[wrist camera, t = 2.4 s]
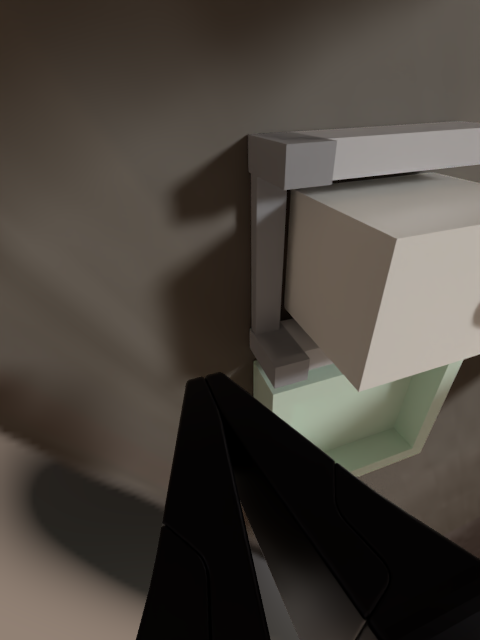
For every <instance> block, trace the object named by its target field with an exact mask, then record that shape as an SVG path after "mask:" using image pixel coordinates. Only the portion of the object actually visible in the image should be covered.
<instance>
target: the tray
mask: <svg viewBox="0 0 480 640" xmlns="http://www.w3.org/2000/svg"><path fill="white" fill-rule="evenodd" d="M463 360H464V359H463ZM463 360H460V361H457V362H454V363H450V364H447V365H444V366H441V367H438V368H434V369H431V370H428V371H425V372H421V373H418V374H415V375H412V376H409V377H405V378H402V379H399V380H396V381H392V382H389V383H386V384H383V385H380V386H376V387H373V388H370V389H367V390H363V391H360V392H358V391H357V389H356V388H355V387H354V386H353V385H352V384H351V383H350V382H349V380H348V379H347V378H346V377H345V376H344V375H343V374H342V373H341V371H340V370H339V369H338V368H337V367H336V366H335V365H334V363H333V364H330V365H326V366H322V367H319V368H315V369H311V370H309V371H308V379H307V380H303V381H300V382H296V383H293V384H289V385H286V386H282V387H279V388H275V389H274V387H273V385H272V384H271V382H270V380H269V379H268V377H267V375H266V374H265V372H264V370H263V369H262V367H261V366H260V364H259V362H258V361H257V360H256V361H253V397H254V398H255V399H257V400H258V401H259V402H261V403H262V404H263V405H264V406H266V407H267V408H268V409H270V410H271V411H272V412H273V413H275V414H276V415H277V416H279V417H280V418H281V419H282V420H284V421H285V422H286V423H287V424H289V425H290V426H291V427H293V428H294V429H295V430H296V431H298V432H299V433H300V434H302V435H303V436H304V437H305V438H307V439H308V440H309V441H311V442H312V443H313V444H314V445H316V446H317V447H318V448H320V449H321V450H322V451H323V452H325V453H326V454H327V455H328V456H330V457H331V458H332V459H334V461H335V463H339V464H340V465H342V466H343V467H344V468H345V469H347V470H348V471H349V472H350V473H352V474H353V475H354V476H356V477H359V476H362V475H364V474H367V473H369V472H372V471H375V470H377V469H380V468H382V467H385V466H388V465H390V464H393V463H395V462H398V461H400V460H403V459H406V458H408V457H411V456H413V455H416V454H419V453H420V452H421V450H422V448H423V446H424V444H425V442H426V439H427V437H428V435H429V433H430V431H431V429H432V427H433V424H434V422H435V420H436V418H437V416H438V414H439V411H440V409H441V407H442V405H443V403H444V401H445V399H446V396H447V394H448V392H449V390H450V388H451V386H452V383H453V381H454V379H455V377H456V375H457V373H458V371H459V368H460V366H461V364H462V362H463Z"/></svg>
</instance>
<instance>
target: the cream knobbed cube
mask: <svg viewBox="0 0 480 640" xmlns="http://www.w3.org/2000/svg"><path fill="white" fill-rule="evenodd" d="M284 308H285V309H286V310H287V311H288V313H289V314H290V315H291V316H292V317H293V318H294V319H295V320H296V322H297V323H298V324H299V325H300V326H301V327H302V328H303V329H304V331H305V332H306V333H307V334H308V335H309V336H310V337H311V339H312V340H313V341H314V342H315V343H316V344H317V345H318V346H319V348H320V349H321V350H322V351H323V352H324V353H325V354H326V356H327V357H328V358H329V359H330V360H331V361H332V362H333V363H334V365H335V366H336V367H337V368H338V369H339V370H340V371H341V373H342V374H343V375H344V376H345V377H346V378H347V379H348V380H349V382H350V383H351V384H352V385H353V386H354V387H355V388H356V389H357V391H358V392H360V391H363V390H367V389H370V388H373V387H376V386H380V385H383V384H386V383H389V382H392V381H396V380H399V379H402V378H405V377H409V376H412V375H415V374H418V373H421V372H425V371H428V370H431V369H434V368H438V367H441V366H444V365H447V364H450V363H454V362H457V361H460V360H463V359H467V358H470V357H473V356H476V355H479V354H480V183H477V182H473V181H468V180H464V179H460V178H455V177H451V176H446V175H442V174H438V173H433V172H431V173H422V174H413V175H404V176H395V177H386V178H378V179H369V180H360V181H351V182H342V183H333V184H332V185H325V186H316V187H308V188H299V189H291V197H290V213H289V230H288V247H287V264H286V280H285V297H284Z"/></svg>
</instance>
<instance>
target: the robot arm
mask: <svg viewBox="0 0 480 640" xmlns="http://www.w3.org/2000/svg"><path fill="white" fill-rule="evenodd" d="M240 502H241V503H240ZM241 504H242V506H243V509H244V511H245V513H246V516H247V518H248V520H249V523H250V525H251V527H252V530H253V532H254V534H255V537H256V539H257V541H258V544H259V546H260V548H261V551H262V553H263V555H264V558H265V560H266V562H267V565H268V567H269V569H270V571H271V574H272V576H273V578H274V581H275V583H276V586H277V588H278V590H279V592H280V595H281V597H282V599H283V602H284V604H285V606H286V609H287V611H288V613H289V615H290V618H291V620H292V623H293V625H294V627H295V630H296V632H297V634H298V637H299V639H300V640H480V559H479V558H477V557H476V556H474V555H472V554H471V553H469V552H468V551H466V550H465V549H463V548H462V547H460V546H458V545H457V544H455V543H454V542H452V541H451V540H449V539H448V538H446V537H444V536H443V535H441V534H440V533H438V532H437V531H435V530H434V529H432V528H430V527H429V526H427V525H426V524H424V523H423V522H421V521H419V520H418V519H416V518H415V517H413V516H412V515H410V514H409V513H407V512H406V511H404V510H403V509H401V508H400V507H398V506H397V505H395V504H394V503H392V502H391V501H389V500H388V499H386V498H385V497H383V496H382V495H380V494H379V493H377V492H376V491H375V490H373V489H372V488H371V487H369V486H368V485H366V484H365V483H364V482H362V481H361V480H360V479H358V478H357V477H356V476H354V475H353V474H352V473H350V472H349V471H348V470H347V469H345V468H344V467H343V466H342V465H340V464H339V463H335V461H334V459H332V458H331V457H330V456H328V455H327V454H326V453H325V452H323V451H322V450H321V449H320V448H318V447H317V446H316V445H314V444H313V443H312V442H311V441H309V440H308V439H307V438H305V437H304V436H303V435H302V434H300V433H299V432H298V431H296V430H295V429H294V428H293V427H291V426H290V425H289V424H287V423H286V422H285V421H284V420H282V419H281V418H280V417H279V416H277V415H276V414H275V413H273V412H272V411H271V410H270V409H268V408H267V407H266V406H264V405H263V404H262V403H261V402H259V401H258V400H257V399H255V398H254V397H253V396H252V395H250V394H249V393H248V392H246V391H245V390H244V389H243V388H241V387H240V386H239V385H237V384H236V383H235V382H234V381H232V380H231V379H230V378H229V377H227V376H226V375H225V374H223V373H221V372H218V373H214V374H211V375H207V376H206V377H205V378H204V377H199V378H195V379H191V380H188V381H187V383H186V388H185V394H184V400H183V405H182V411H181V417H180V423H179V428H178V434H177V440H176V446H175V452H174V457H173V463H172V469H171V475H170V480H169V486H168V492H167V498H166V504H165V509H164V515H163V521H162V524H163V526H162V527H161V531H160V537H159V542H158V548H157V553H156V558H155V563H154V568H153V574H152V578H151V583H150V588H149V591H148V595H147V599H146V603H145V607H144V611H143V615H142V619H141V623H140V626H139V630H138V634H137V638H136V640H270V635H269V631H268V627H267V622H266V617H265V612H264V608H263V604H262V599H261V594H260V590H259V585H258V581H257V576H256V572H255V567H254V562H253V558H252V553H251V549H250V544H249V540H248V535H247V531H246V526H245V521H244V517H243V512H242V508H241Z"/></svg>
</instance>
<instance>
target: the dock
mask: <svg viewBox="0 0 480 640" xmlns="http://www.w3.org/2000/svg"><path fill="white" fill-rule="evenodd" d="M478 164H480V123H476V122H461V121H452V122H436V123H420V124H405V125H389V126H373V127H357V128H342V129H326V130H310V131H294V132H279V133H263V134H248V172H249V173H251V319H252V328H250V349H251V351H252V352H253V354H254V356H255V357H256V359H257V361H258V362H259V364H260V366H261V367H262V369H263V370H264V372H265V374H266V375H267V377H268V379H269V380H270V382H271V384H272V385H273V387H274V389H275V388H279V387H282V386H286V385H289V384H293V383H296V382H300V381H303V380H307V379H308V371H309V370H311V369H315V368H319V367H322V366H326V365H330V364H333V362H332V361H331V360H330V359H329V358H328V357H327V356H326V354H325V353H324V352H323V351H322V350H321V349H320V348H319V346H318V345H317V344H316V343H315V342H314V341H313V340H312V339H311V337H310V336H309V335H308V334H307V333H306V332H305V331H304V329H303V328H302V327H301V326H300V325H299V324H298V323H297V322H296V320H295V319H294V318H293V319H288V320H284V321H280V311H281V292H282V274H283V255H284V237H285V218H286V199H287V190H290V189H299V188H308V187H316V186H325V185H332V180H341V179H350V178H359V177H369V176H378V175H387V174H396V173H405V172H414V171H423V170H432V169H441V168H450V167H460V166H469V165H478Z"/></svg>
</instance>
